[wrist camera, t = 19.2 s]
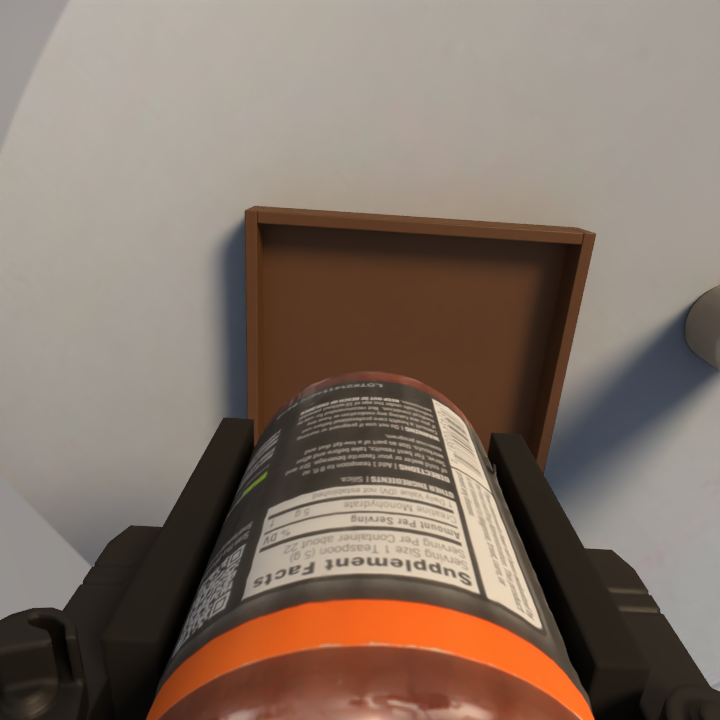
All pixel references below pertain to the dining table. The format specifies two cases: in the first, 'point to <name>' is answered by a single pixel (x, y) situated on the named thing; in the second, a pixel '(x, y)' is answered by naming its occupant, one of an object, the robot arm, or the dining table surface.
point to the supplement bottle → (369, 576)
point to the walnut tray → (415, 311)
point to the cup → (705, 327)
